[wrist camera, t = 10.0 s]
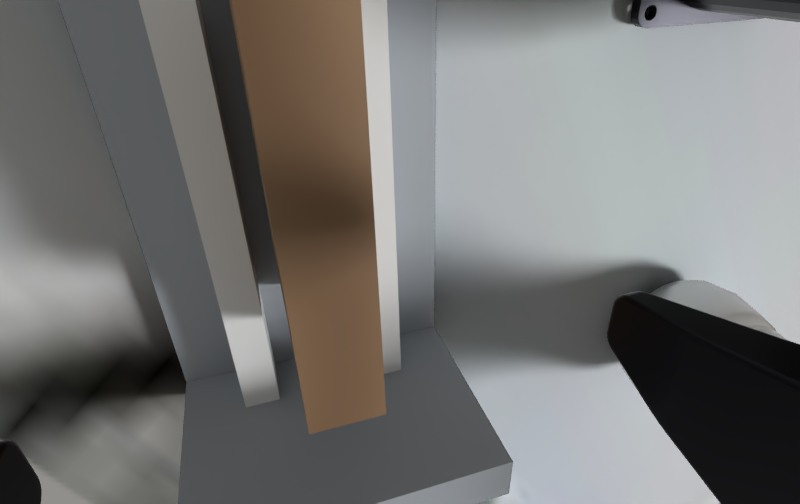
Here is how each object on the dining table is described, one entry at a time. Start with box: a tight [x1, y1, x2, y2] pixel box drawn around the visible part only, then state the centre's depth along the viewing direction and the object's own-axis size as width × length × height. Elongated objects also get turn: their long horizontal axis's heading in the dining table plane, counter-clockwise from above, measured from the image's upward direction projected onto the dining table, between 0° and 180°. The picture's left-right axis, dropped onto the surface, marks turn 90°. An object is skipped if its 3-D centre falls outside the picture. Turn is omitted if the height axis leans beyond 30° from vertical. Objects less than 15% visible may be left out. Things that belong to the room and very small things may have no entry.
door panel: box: [229, 0, 386, 434], centre depth 13 cm, size 2×10×7 cm, turn 2°
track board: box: [58, 0, 513, 504], centre depth 14 cm, size 10×20×8 cm, turn 2°
